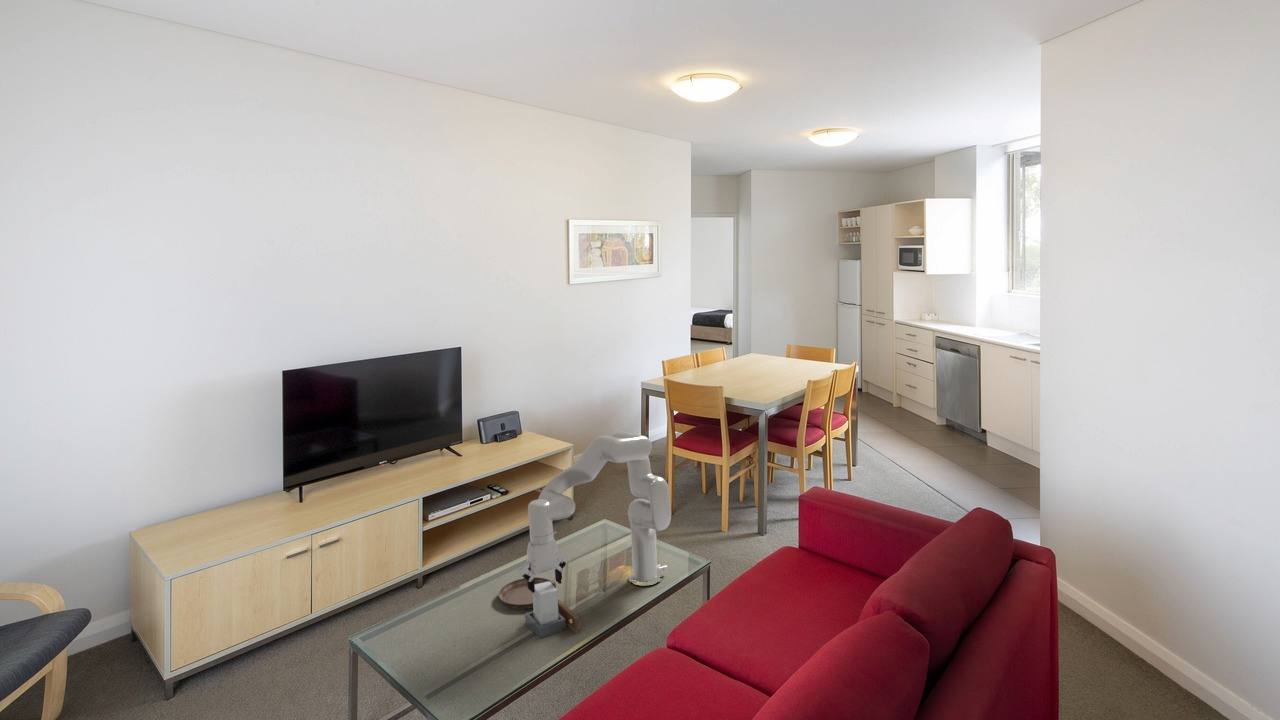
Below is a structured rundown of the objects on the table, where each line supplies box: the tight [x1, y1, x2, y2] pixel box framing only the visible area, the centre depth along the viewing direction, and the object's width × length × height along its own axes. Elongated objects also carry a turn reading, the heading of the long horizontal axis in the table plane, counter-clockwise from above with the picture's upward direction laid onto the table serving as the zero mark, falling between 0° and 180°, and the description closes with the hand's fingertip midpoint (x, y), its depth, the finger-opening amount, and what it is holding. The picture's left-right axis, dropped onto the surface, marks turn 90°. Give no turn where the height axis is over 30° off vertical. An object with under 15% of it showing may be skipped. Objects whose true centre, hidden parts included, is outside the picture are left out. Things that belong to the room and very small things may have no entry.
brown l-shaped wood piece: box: [550, 580, 581, 634], centre depth 216 cm, size 3×20×10 cm, turn 33°
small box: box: [532, 581, 559, 626], centre depth 213 cm, size 8×6×13 cm
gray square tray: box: [524, 610, 567, 639], centre depth 213 cm, size 10×12×4 cm
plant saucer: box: [498, 576, 552, 610], centre depth 234 cm, size 21×21×3 cm
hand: (545, 586), depth 212 cm, fingers open, 9 cm apart
